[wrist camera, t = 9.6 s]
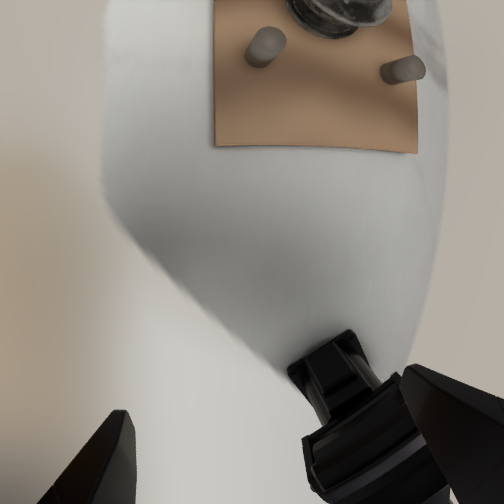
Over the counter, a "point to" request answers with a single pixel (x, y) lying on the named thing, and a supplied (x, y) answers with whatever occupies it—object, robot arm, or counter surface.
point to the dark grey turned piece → (338, 15)
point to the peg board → (313, 81)
